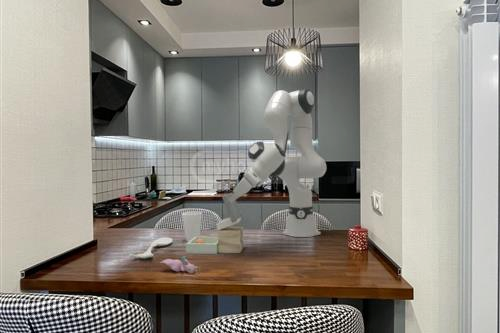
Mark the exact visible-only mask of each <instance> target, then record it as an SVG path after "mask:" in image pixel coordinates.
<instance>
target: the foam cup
mask: <svg viewBox="0 0 500 333" xmlns="http://www.w3.org/2000/svg"><path fill="white" fill-rule="evenodd" d="M181 216H182V217H181V219H182V223H183V229H184V235H185V236H184V237H185V240H186V242H189V241H190V240H192V239H193V238H194V237H201V236H200V235H201V225H202V218H203V213H202V212H201V211H187V212H182V214H181Z"/></svg>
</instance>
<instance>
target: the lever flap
mask: <svg viewBox="0 0 500 333" xmlns="http://www.w3.org/2000/svg"><path fill="white" fill-rule="evenodd" d="M233 194H234V192H230V193H228V194H226V195H223V196H222V201H223V202H224V206H225V208H226V211H227V213H228V216H229V217H227V218H224V219H221V220H219V222H218V223H215V224H216V228H217V231H219V230H220V229H223V228H226V227H232V226H234V225H236V224H239V223H240V222H241V220H242V219H241V217H242V214H241V211H240V208H239V205H238V203H237V200H234V201H233V202H232V203H230V202H229V199H230V198H231V196H232V195H233Z"/></svg>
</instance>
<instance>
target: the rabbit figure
mask: <svg viewBox="0 0 500 333" xmlns="http://www.w3.org/2000/svg"><path fill="white" fill-rule="evenodd" d="M183 263H184V264H186V265H184V264H183ZM159 264H165V265H167V266H168V267H170V268H171V270H173V271H175V272H177V273H179V272H180V271H182V272H187V273H188V274H189V275H192V274H194V273H195V274H198V271H199V272H201V270H202V268H201V266H200V267H199V265H198V266H195V265H194V264H193V263H190V262H189V260H188V259H186V255H182V257H181V260H180V259H171V258H167V259H164V260H162V261H160V262H159ZM198 269H199V270H198Z"/></svg>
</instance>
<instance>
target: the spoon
mask: <svg viewBox="0 0 500 333" xmlns="http://www.w3.org/2000/svg"><path fill="white" fill-rule="evenodd" d="M172 242H173V238H171V237H167V236H165V237H159V238H157V239H154V240H153V241H152V242H151V244H149V247H148V248H147V250H146V251H145V252H143V253H138V254H133V253H132V254H131V253H130V254H129V258H136V259H149V258H152V257H153V256H154V253H152V249H154V248H155V247H165V246H168V245H170V244H171V243H172Z"/></svg>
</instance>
